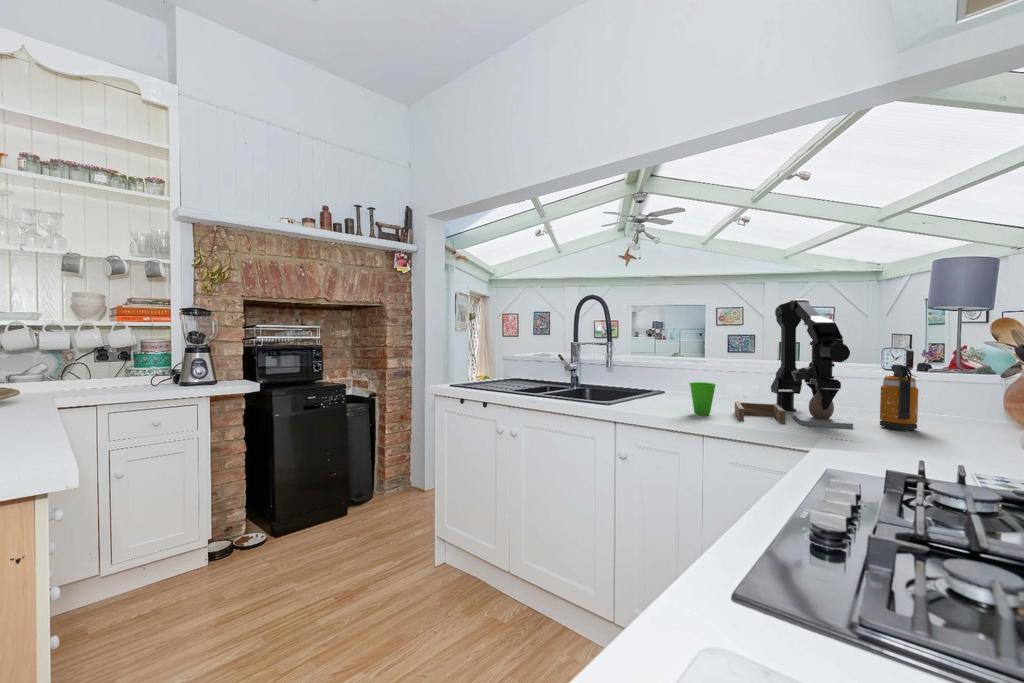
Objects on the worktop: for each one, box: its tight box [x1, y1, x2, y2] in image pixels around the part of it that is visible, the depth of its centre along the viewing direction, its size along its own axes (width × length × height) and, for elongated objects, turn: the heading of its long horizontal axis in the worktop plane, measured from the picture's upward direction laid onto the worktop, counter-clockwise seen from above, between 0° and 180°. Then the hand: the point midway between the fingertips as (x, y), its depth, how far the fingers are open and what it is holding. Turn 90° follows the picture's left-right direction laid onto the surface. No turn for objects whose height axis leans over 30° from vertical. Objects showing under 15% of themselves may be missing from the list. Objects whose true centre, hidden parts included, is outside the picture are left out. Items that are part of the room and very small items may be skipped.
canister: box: [879, 364, 919, 432], centre depth 145 cm, size 9×11×20 cm
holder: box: [734, 401, 787, 424], centre depth 163 cm, size 15×14×4 cm
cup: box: [688, 381, 717, 416], centre depth 169 cm, size 9×9×11 cm
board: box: [791, 412, 854, 429], centre depth 155 cm, size 14×14×2 cm
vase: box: [808, 391, 835, 419], centre depth 155 cm, size 7×7×9 cm
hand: (820, 407), depth 155 cm, fingers open, 9 cm apart
